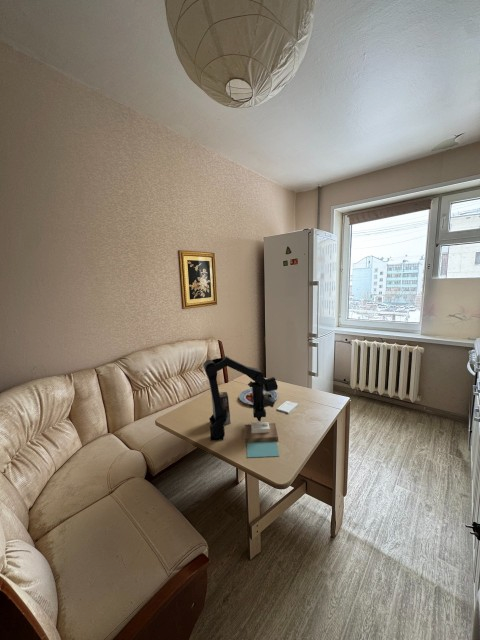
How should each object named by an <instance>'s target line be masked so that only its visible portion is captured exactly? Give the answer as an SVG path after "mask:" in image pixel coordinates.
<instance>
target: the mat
mask: <svg viewBox="0 0 480 640" xmlns="http://www.w3.org/2000/svg"><path fill="white" fill-rule="evenodd" d="M277 442H278V441H273V442H252V443H246V457H247V458H248V459H249V458H251V459H253V458H274V457H280V452H279V448H278V444H277Z"/></svg>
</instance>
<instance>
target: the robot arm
mask: <svg viewBox="0 0 480 640" xmlns="http://www.w3.org/2000/svg"><path fill="white" fill-rule="evenodd" d="M202 366H203V370H204V372H205V374H206V377H207V379H208V385H209V388H210V394H211V401H212V400H213V405H212V415H211V416H210V417H209V418H208V419H209V423H210V425H209V431H210V442H211V441H224V439H225V435H226V432H225V426H224V425H225V424H224V423H225V422H226V420H227V417H228V416H227V414H226V408H225V406H224V404H223V405H221V400H220V395H219V393H220V391H219V385H218V380H217V379H218V377H217V376H218V372H219V371H221V370H223V369H224V368H226V367H229V368H230V369H233V370H235V371H236V372H239V373H241V374H243V375H246V376H247V377H248V378H250V382H249V383H247V386H248V387H249V388H252V395H253V397H252V402H253V405H252V409H253V410H252V414H253V418H256V419H257V421H258V422H261V421H262V418H267V410H266V409H265V407H267V406H268V407H270V408H274V406H275V401H276V400H274V398H273V397H272V396H271V394H268V395H267V396H264V394H263V389H264V390H265V391H266V392H269V391H277V390H278V389H279V387H278V384H277V383H278V382H277V380H276V378H275V376H274V377H273V376H272V377H270V378H265V375H264V373H263V372H262V371H261V370H259V369H258V368H255V367H251V366H247V365H245V364H243V363H240V362H238V361H236V360H234V359H233V358H230V357H229V356H227V355H225V356H222V357H219V358H218V357H217V358H214V359H207V360H205V361H204V363H203V364H202ZM252 380H253V381H252Z"/></svg>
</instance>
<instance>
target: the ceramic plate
mask: <svg viewBox="0 0 480 640" xmlns="http://www.w3.org/2000/svg"><path fill="white" fill-rule="evenodd" d="M263 394H264V396H267V395H268V394H271V396H272V397H273V398H274V400H275V401H276V400H277V399H278V395H279V394H278V393H277V391H276V390H274V391H269V392H266V391H265V390H264V389H263ZM252 397H253V395H252V387H250V388H247V389H245V390H243V391H241V392H240V393H239V396H238V398H239V400H240V401H241V402H242V403H244V404H247V405H252V406H253V402H252Z"/></svg>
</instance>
